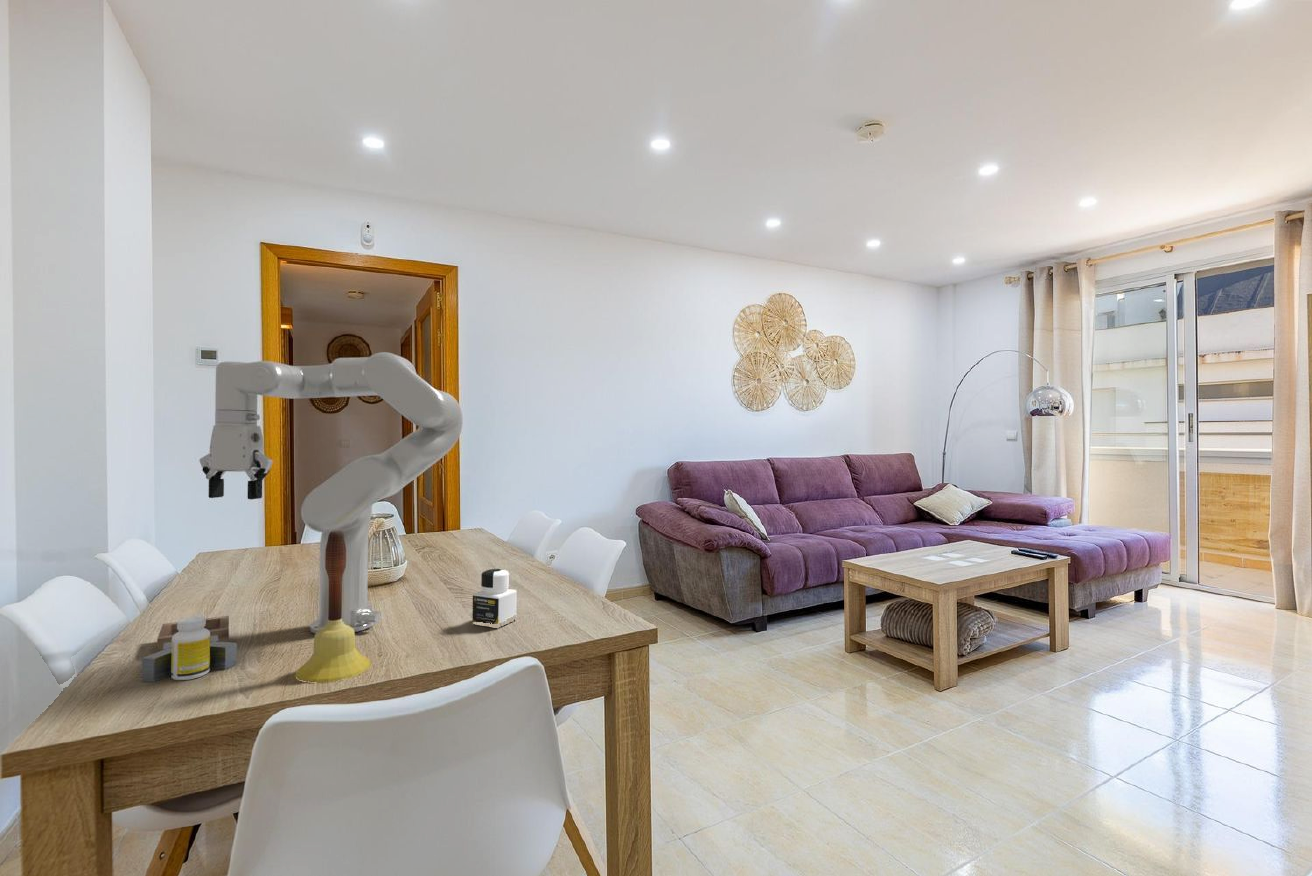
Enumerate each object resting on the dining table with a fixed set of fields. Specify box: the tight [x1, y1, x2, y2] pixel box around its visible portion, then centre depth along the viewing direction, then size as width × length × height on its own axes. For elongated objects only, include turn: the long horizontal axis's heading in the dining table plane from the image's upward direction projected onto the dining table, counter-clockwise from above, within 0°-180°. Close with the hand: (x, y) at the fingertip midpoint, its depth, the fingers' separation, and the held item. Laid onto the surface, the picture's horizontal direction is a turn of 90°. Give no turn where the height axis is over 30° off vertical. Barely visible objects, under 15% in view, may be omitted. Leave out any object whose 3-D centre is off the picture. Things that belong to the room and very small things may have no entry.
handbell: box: [294, 531, 371, 684], centre depth 110 cm, size 12×12×25 cm
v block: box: [141, 635, 238, 683], centre depth 110 cm, size 9×13×4 cm
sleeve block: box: [156, 615, 230, 653], centre depth 122 cm, size 11×11×4 cm
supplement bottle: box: [170, 615, 211, 681], centre depth 107 cm, size 5×5×10 cm
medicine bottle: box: [471, 568, 518, 624], centre depth 139 cm, size 7×7×12 cm
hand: (235, 498), depth 132 cm, fingers open, 9 cm apart
